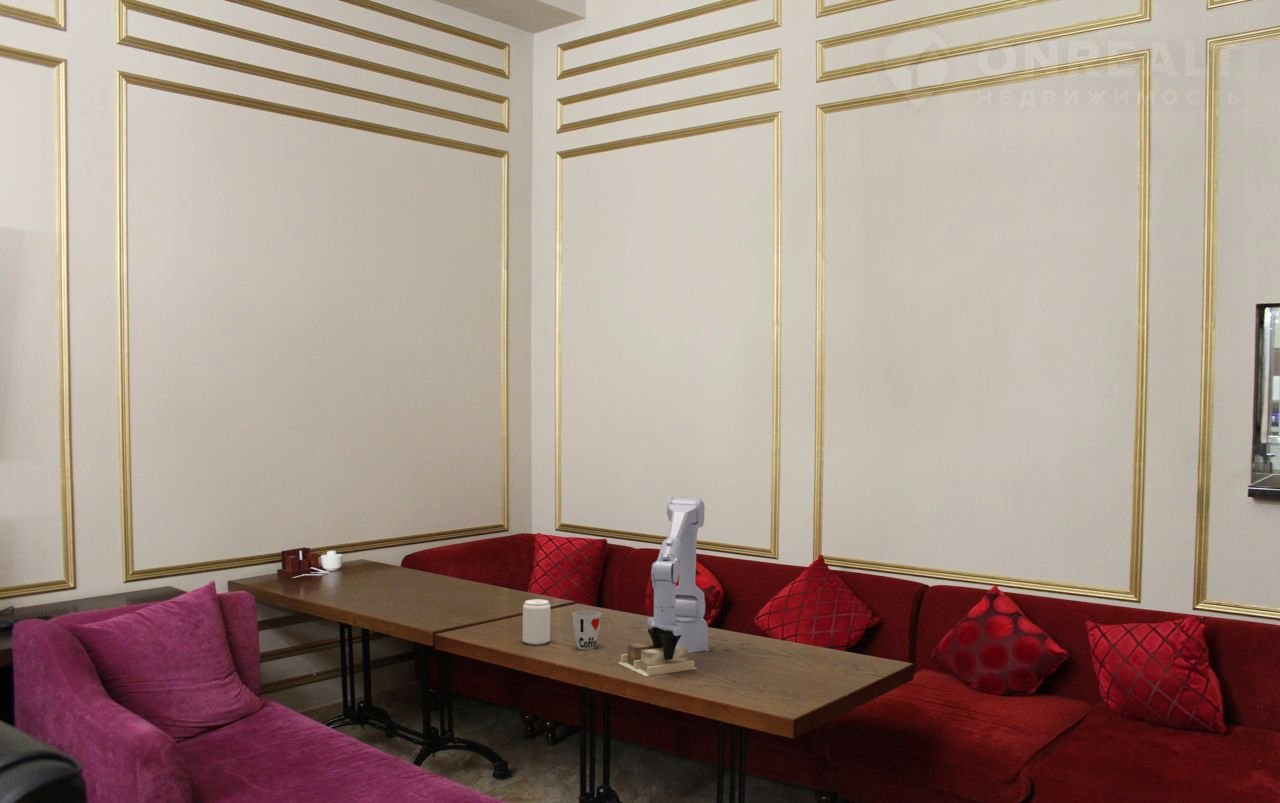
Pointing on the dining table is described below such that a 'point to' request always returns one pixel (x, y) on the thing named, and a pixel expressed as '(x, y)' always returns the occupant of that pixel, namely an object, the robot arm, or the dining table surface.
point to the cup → (586, 629)
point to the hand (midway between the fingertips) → (664, 657)
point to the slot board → (657, 666)
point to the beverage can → (536, 622)
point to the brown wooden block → (637, 651)
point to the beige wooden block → (662, 657)
